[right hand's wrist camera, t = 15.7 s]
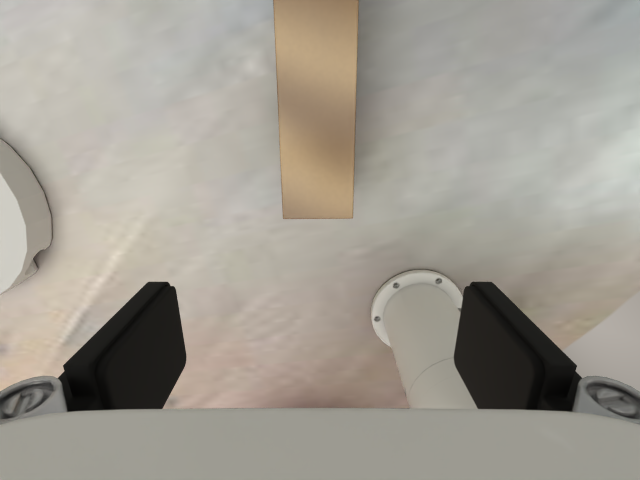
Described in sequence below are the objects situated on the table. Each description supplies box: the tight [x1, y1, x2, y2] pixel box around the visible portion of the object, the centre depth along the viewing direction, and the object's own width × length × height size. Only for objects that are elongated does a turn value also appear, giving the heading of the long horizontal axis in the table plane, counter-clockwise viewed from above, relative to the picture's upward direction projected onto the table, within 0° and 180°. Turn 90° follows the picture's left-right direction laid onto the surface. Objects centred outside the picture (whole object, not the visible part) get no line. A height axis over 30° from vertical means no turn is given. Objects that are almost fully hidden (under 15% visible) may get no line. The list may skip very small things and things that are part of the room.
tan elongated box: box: [273, 0, 359, 219], centre depth 34 cm, size 20×6×11 cm, turn 0°
